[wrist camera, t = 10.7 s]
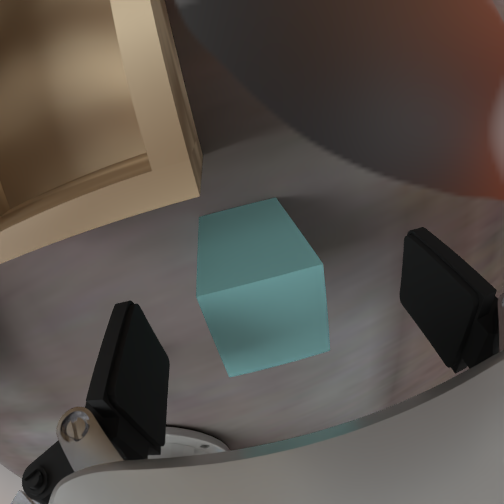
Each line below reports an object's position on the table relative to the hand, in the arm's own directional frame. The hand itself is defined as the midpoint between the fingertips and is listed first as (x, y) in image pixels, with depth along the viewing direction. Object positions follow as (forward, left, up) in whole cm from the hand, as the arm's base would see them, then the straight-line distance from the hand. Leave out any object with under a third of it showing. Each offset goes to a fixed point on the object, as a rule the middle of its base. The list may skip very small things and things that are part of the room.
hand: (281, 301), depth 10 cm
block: (-1, +1, -7) cm, 7 cm away
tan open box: (+13, +8, -7) cm, 17 cm away
